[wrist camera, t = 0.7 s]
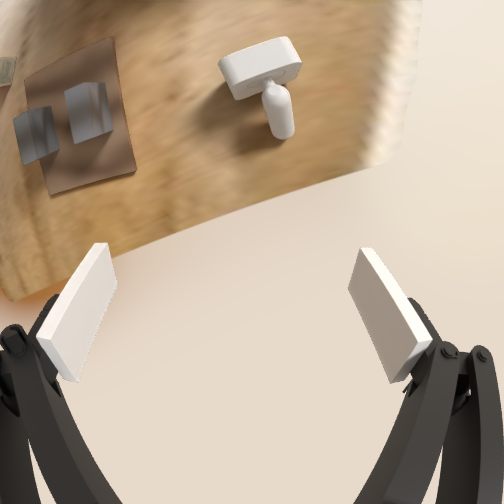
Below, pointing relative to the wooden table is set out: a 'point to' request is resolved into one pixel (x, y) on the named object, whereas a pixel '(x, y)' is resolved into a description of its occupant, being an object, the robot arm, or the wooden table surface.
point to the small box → (6, 70)
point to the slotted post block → (76, 120)
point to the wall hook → (265, 79)
